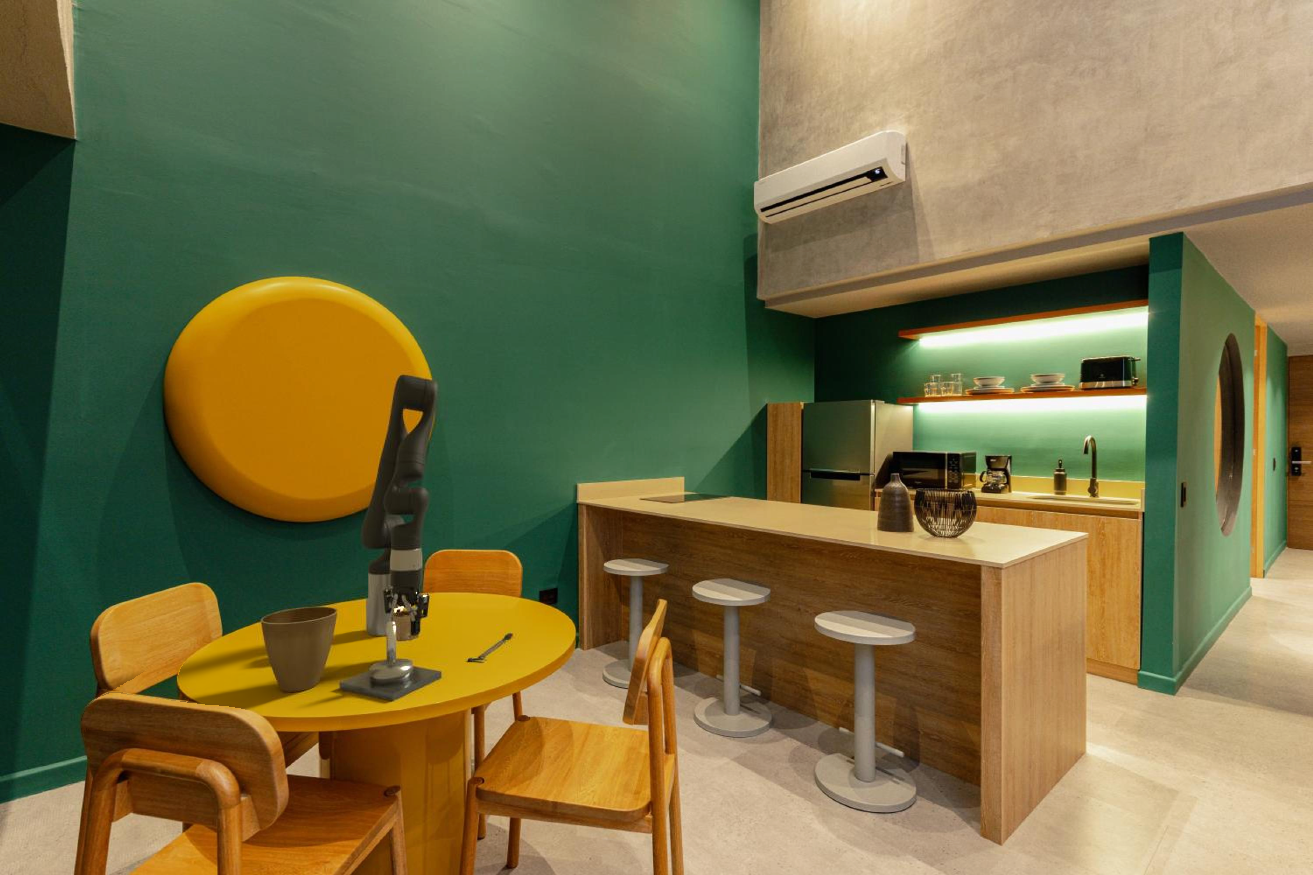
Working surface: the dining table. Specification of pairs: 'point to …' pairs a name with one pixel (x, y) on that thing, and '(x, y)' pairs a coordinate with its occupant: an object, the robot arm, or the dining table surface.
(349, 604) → the dining table surface
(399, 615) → the copper ring
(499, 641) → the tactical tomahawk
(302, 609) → the plant pot
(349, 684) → the piston base
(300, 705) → the dining table surface
